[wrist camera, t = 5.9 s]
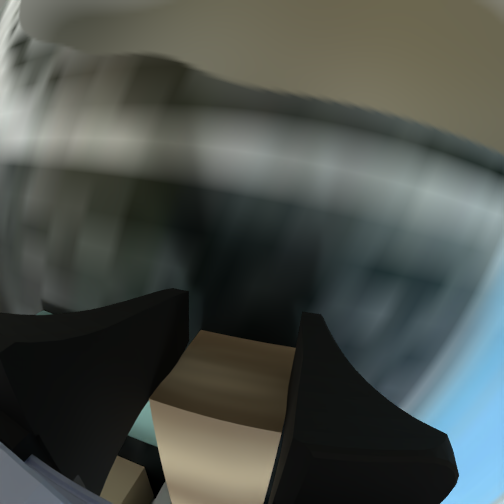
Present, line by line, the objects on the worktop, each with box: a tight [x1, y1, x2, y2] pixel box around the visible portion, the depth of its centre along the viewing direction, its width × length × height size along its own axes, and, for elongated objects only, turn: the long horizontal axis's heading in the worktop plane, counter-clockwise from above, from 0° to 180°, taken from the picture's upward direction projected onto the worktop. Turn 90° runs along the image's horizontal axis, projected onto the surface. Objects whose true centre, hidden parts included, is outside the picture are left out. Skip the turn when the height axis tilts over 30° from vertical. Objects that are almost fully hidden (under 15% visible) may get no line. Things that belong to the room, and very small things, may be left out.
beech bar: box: [149, 330, 296, 504], centre depth 12 cm, size 12×4×4 cm, turn 175°
